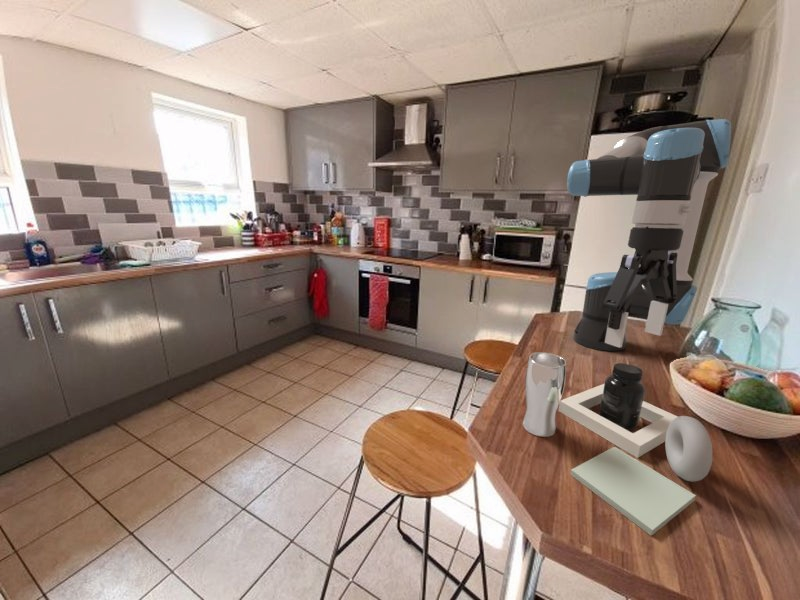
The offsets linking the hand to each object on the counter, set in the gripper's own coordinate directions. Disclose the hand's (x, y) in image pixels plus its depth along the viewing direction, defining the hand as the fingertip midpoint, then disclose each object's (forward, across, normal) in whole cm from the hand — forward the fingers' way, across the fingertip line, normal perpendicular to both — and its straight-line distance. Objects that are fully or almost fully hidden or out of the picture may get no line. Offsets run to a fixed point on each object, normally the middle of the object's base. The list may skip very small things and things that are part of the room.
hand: (633, 339), depth 64 cm
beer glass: (+19, -16, +6) cm, 25 cm away
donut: (+19, -5, -13) cm, 23 cm away
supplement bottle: (+18, 0, 0) cm, 19 cm away
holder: (+18, 0, 0) cm, 18 cm away
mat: (+18, -16, -11) cm, 26 cm away
